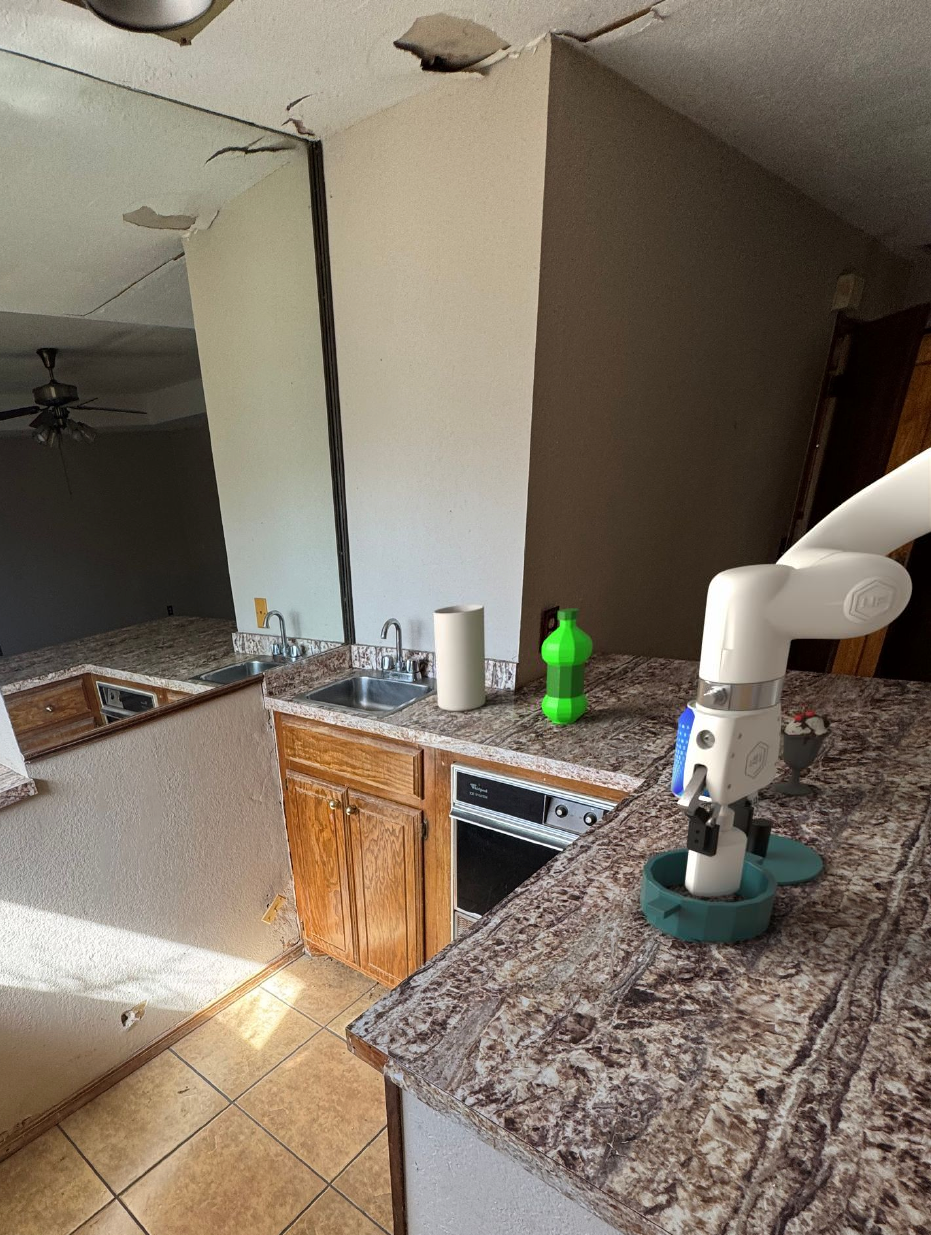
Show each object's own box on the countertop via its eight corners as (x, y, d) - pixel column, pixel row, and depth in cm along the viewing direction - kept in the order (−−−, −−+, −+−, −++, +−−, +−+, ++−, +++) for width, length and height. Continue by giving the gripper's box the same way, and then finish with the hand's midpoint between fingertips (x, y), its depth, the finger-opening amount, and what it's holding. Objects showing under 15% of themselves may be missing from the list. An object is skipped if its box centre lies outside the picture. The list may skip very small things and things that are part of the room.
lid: (844, 863, 86) (855, 821, 83) (780, 902, 80) (789, 859, 77) (732, 828, 98) (739, 791, 95) (669, 860, 92) (674, 821, 89)
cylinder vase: (450, 715, 168) (446, 615, 157) (430, 704, 179) (425, 611, 168) (494, 705, 170) (493, 606, 159) (472, 696, 181) (469, 603, 170)
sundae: (766, 794, 105) (784, 705, 99) (769, 779, 110) (786, 693, 104) (817, 799, 102) (839, 706, 95) (817, 783, 106) (838, 694, 100)
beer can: (669, 786, 113) (680, 696, 106) (726, 788, 109) (741, 696, 102) (670, 806, 107) (681, 711, 100) (730, 809, 103) (746, 711, 96)
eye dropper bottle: (738, 902, 76) (753, 810, 70) (683, 895, 79) (693, 806, 73) (739, 884, 79) (753, 794, 74) (686, 877, 82) (696, 791, 77)
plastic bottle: (558, 711, 158) (562, 605, 147) (597, 718, 150) (604, 606, 139) (531, 722, 154) (533, 613, 143) (569, 730, 146) (574, 615, 135)
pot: (806, 908, 78) (815, 869, 76) (707, 970, 71) (714, 929, 69) (697, 867, 89) (702, 832, 87) (602, 917, 82) (605, 880, 80)
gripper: (723, 719, 62) (702, 881, 70) (824, 676, 68) (795, 829, 76) (651, 707, 68) (640, 857, 76) (750, 669, 74) (730, 811, 82)
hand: (717, 841), depth 76 cm, fingers closed on eye dropper bottle, 5 cm apart
